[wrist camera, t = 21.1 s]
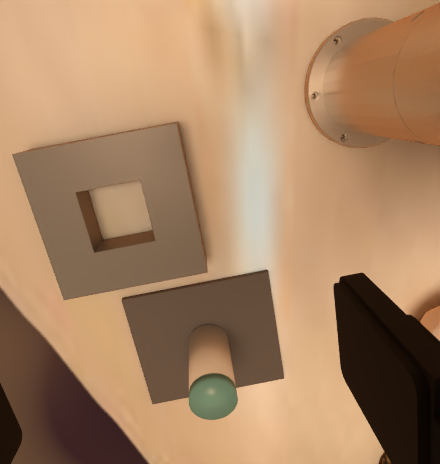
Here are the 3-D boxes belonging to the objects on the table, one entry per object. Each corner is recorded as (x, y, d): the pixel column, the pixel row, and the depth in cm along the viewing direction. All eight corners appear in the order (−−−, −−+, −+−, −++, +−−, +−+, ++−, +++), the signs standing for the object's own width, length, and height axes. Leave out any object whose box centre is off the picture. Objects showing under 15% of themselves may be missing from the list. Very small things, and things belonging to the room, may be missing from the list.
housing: (178, 121, 40) (176, 123, 36) (206, 258, 45) (207, 272, 41) (29, 149, 40) (12, 154, 36) (74, 283, 45) (64, 300, 41)
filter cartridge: (225, 321, 47) (235, 378, 38) (229, 354, 49) (239, 415, 40) (186, 327, 47) (185, 385, 38) (191, 359, 49) (192, 423, 39)
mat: (267, 269, 46) (267, 271, 46) (283, 375, 51) (284, 378, 51) (122, 297, 46) (121, 300, 45) (153, 400, 51) (152, 404, 50)
